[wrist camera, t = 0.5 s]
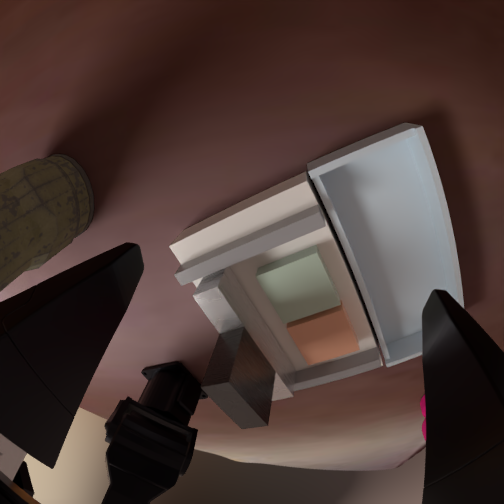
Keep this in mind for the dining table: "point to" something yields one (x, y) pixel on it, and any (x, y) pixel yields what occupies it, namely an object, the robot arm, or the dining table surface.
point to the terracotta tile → (324, 335)
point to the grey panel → (242, 353)
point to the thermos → (41, 212)
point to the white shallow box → (272, 249)
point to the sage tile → (298, 285)
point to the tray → (392, 230)
